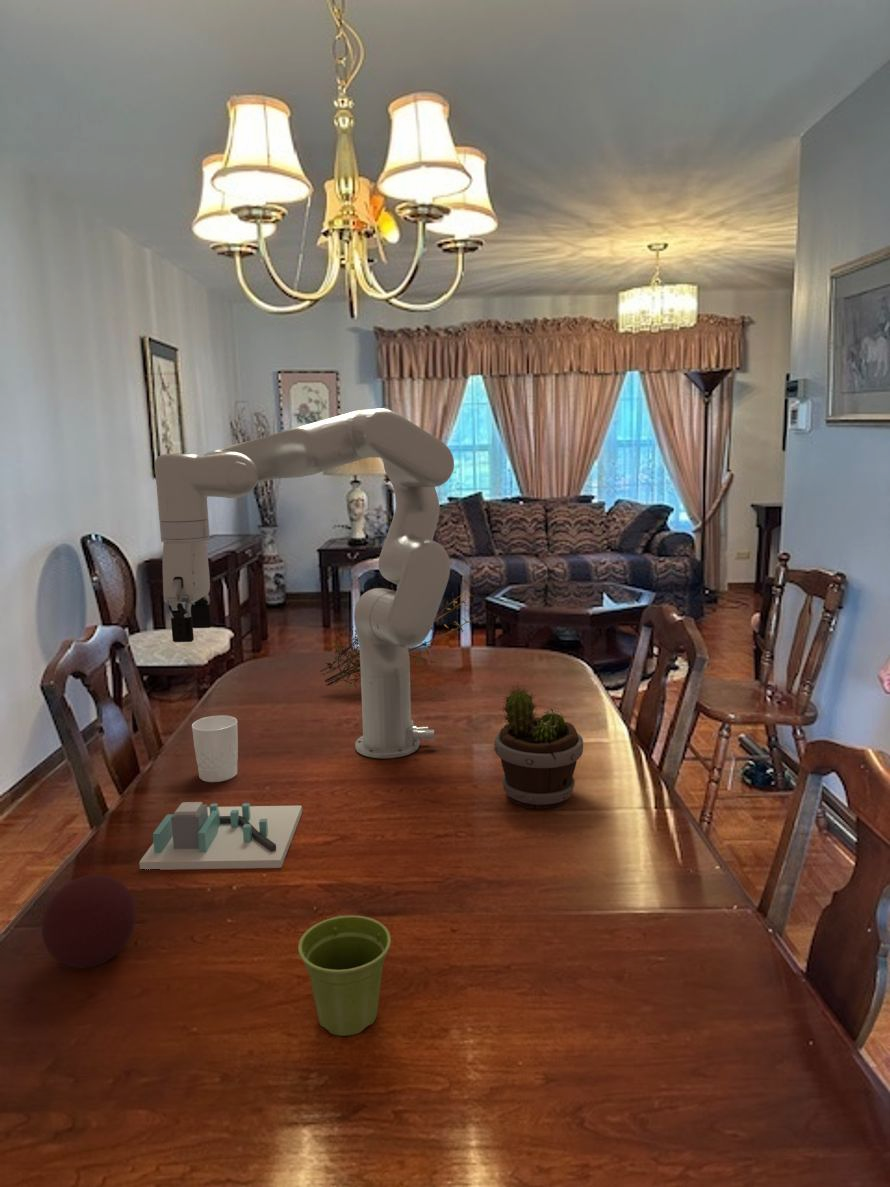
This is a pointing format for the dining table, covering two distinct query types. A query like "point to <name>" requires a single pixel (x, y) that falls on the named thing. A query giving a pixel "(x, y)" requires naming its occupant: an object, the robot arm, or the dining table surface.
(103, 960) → the decorative ball
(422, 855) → the dining table surface
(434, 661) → the dried plant
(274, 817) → the board
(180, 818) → the block
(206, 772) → the white cup
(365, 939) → the plant pot
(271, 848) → the cable
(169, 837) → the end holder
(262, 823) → the clips
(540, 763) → the flowerpot
